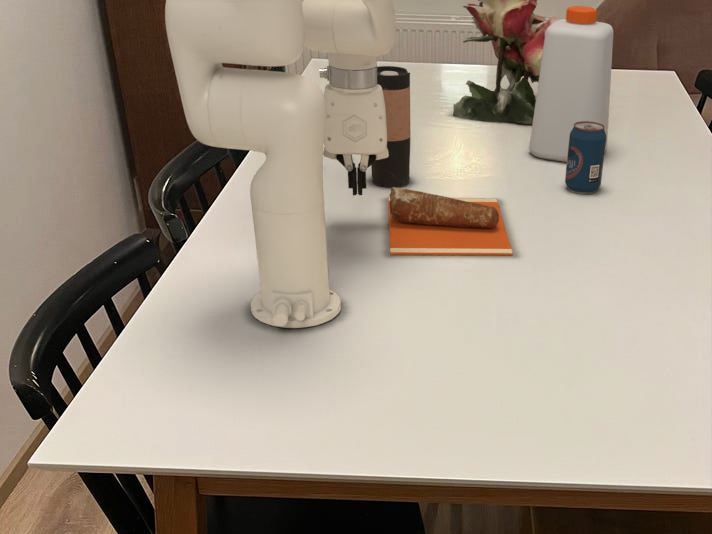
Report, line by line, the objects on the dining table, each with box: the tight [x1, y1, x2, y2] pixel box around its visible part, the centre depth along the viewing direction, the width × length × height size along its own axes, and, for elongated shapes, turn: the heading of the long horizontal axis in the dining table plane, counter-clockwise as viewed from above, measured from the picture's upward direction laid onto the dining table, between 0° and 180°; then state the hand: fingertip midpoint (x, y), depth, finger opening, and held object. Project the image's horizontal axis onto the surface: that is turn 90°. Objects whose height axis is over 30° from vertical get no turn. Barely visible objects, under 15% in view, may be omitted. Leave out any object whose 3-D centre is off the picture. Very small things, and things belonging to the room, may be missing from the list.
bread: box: [388, 187, 499, 228], centre depth 158 cm, size 6×19×6 cm, turn 82°
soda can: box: [564, 121, 608, 195], centre depth 176 cm, size 7×7×12 cm
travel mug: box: [370, 65, 412, 188], centre depth 172 cm, size 8×8×20 cm
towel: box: [388, 196, 514, 257], centre depth 161 cm, size 26×20×1 cm
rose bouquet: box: [452, 0, 562, 125], centre depth 216 cm, size 26×29×30 cm
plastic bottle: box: [528, 5, 614, 163], centre depth 190 cm, size 15×15×28 cm
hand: (357, 192), depth 156 cm, fingers closed
